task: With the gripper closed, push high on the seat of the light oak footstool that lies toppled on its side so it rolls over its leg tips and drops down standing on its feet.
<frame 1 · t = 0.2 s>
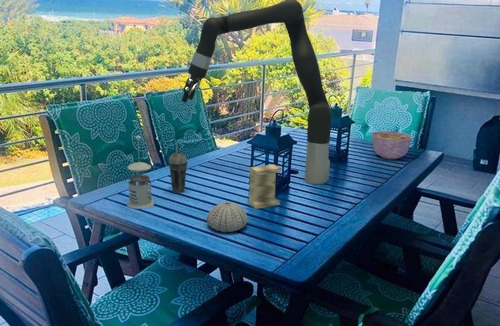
hand: (186, 100, 202), 31 cm above the table, tool tilted 20°, fingers open, 8 cm apart
beverage cup: (178, 191, 184), on the table
sea urchin shell: (226, 226, 154), on the table
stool: (260, 202, 175), on the table
french press: (140, 203, 171), on the table
bowl of food: (389, 157, 243), on the table
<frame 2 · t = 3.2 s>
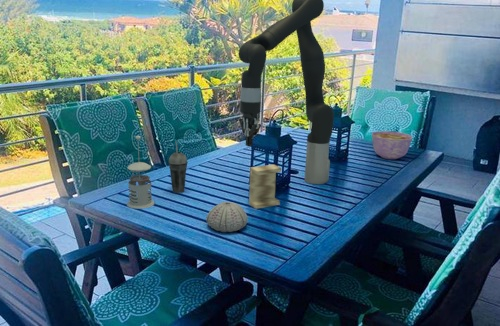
hand: (248, 145, 179), 19 cm above the table, tool pointing down, fingers closed
nothing on the table moved.
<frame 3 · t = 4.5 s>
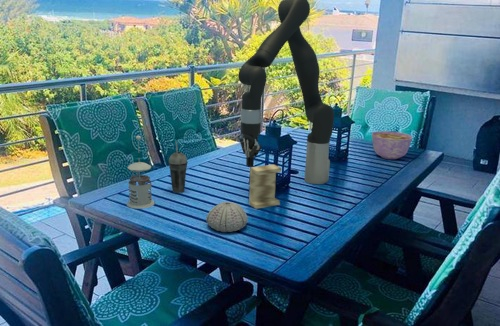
hand: (249, 165, 180), 12 cm above the table, tool pointing down, fingers closed
nothing on the table moved.
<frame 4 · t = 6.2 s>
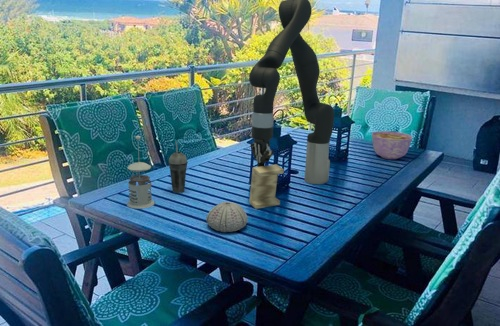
hand: (260, 171, 173), 12 cm above the table, tool pointing down, fingers closed
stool: (260, 200, 175), point 1 cm above the table, tilted 7°
everything else where it was.
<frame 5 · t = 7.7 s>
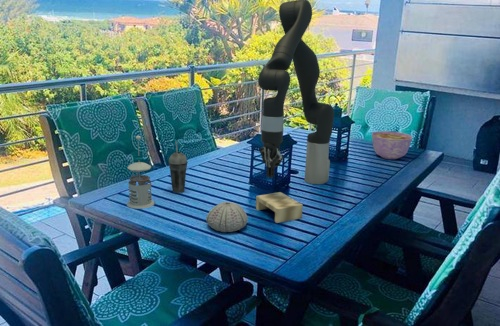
hand: (270, 176, 167), 12 cm above the table, tool pointing down, fingers closed
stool: (268, 193, 170), point 5 cm above the table, tilted 90°
everything else where it was.
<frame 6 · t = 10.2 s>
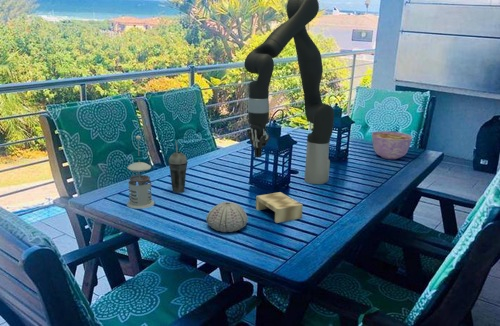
hand: (257, 156, 176), 16 cm above the table, tool pointing down, fingers closed
nothing on the table moved.
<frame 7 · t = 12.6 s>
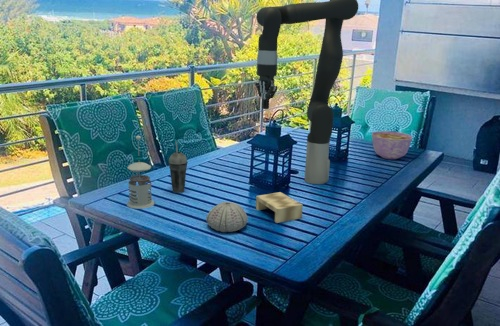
hand: (265, 108, 183), 32 cm above the table, tool pointing down, fingers closed
nothing on the table moved.
at the end: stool tilted 90°; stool inside the target area (1.5 cm from its centre), point 4.9 cm above the table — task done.
